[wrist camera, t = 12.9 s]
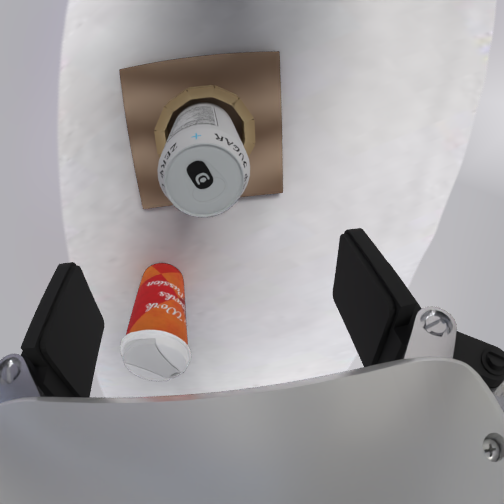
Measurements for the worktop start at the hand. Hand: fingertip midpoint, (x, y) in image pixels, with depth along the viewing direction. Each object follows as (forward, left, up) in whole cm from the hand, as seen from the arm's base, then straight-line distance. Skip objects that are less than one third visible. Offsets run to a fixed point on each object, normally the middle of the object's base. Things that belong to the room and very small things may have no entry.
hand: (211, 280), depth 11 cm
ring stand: (0, 0, -25) cm, 25 cm away
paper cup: (+19, -8, -26) cm, 33 cm away
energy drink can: (0, 0, -25) cm, 25 cm away
